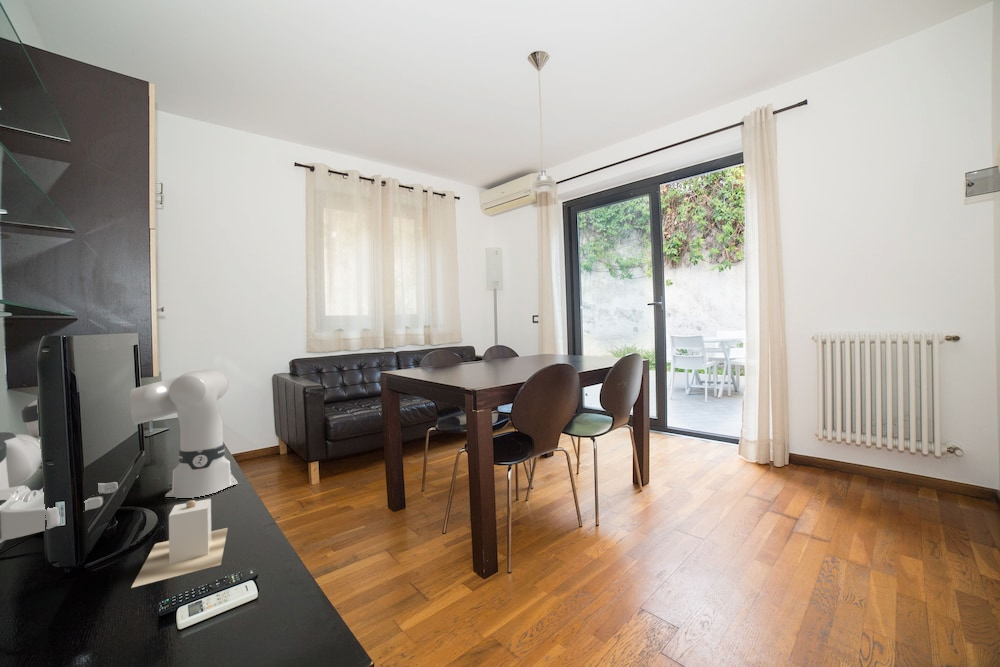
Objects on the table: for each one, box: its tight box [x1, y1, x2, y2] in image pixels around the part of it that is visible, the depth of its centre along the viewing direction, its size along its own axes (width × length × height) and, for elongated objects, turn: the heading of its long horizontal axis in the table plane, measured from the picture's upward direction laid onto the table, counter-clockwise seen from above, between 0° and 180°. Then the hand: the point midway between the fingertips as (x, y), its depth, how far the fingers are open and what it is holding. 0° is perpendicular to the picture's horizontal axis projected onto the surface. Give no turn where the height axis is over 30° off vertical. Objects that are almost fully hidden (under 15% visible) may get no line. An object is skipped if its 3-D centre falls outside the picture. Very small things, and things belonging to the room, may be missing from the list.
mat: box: [130, 527, 229, 589], centre depth 87 cm, size 20×14×1 cm
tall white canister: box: [168, 498, 212, 564], centre depth 88 cm, size 7×7×11 cm
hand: (109, 493), depth 82 cm, fingers open, 8 cm apart
